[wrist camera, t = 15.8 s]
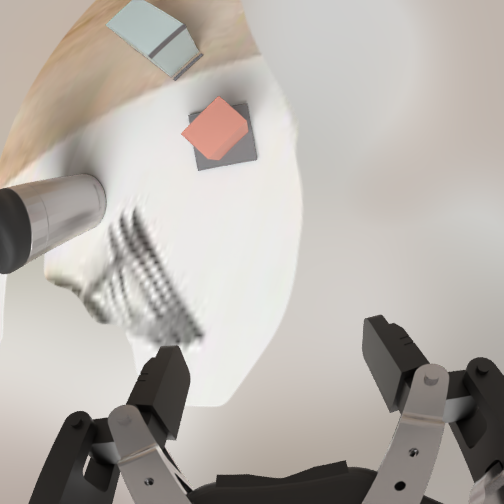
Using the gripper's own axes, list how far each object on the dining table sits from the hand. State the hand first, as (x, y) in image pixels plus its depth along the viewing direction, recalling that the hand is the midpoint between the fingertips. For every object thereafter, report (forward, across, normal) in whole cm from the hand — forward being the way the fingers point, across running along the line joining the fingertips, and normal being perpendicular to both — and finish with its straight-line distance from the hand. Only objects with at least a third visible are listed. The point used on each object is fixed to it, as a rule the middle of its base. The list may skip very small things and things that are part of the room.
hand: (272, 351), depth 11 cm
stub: (+28, +3, -12) cm, 30 cm away
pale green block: (+28, +9, -28) cm, 41 cm away
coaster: (+28, +3, -12) cm, 31 cm away
